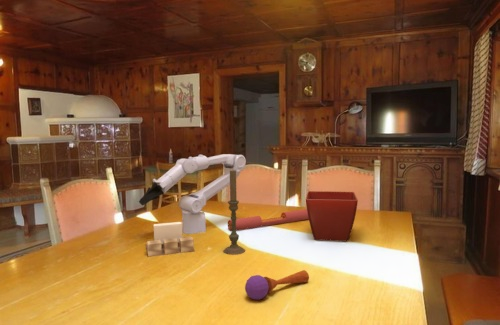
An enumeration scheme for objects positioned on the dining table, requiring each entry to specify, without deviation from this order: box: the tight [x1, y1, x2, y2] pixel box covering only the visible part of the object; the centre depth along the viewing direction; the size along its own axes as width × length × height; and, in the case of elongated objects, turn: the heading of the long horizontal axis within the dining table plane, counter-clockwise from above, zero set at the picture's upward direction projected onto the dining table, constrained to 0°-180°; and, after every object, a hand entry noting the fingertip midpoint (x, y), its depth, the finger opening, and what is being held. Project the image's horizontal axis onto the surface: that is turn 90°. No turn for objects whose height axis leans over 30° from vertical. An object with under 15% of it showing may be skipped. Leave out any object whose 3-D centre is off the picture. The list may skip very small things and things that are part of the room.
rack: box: [145, 239, 195, 258], centre depth 131 cm, size 16×14×2 cm
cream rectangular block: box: [153, 221, 184, 244], centre depth 133 cm, size 10×3×8 cm, turn 109°
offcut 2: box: [179, 236, 195, 253], centre depth 128 cm, size 4×4×4 cm
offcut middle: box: [163, 238, 179, 255], centre depth 127 cm, size 4×4×4 cm
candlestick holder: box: [222, 170, 246, 256], centre depth 125 cm, size 9×9×30 cm
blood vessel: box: [227, 208, 309, 232], centre depth 165 cm, size 42×5×5 cm, turn 118°
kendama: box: [244, 269, 310, 301], centre depth 97 cm, size 6×6×20 cm
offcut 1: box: [146, 239, 163, 257], centre depth 125 cm, size 4×4×4 cm
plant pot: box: [305, 190, 359, 242], centre depth 145 cm, size 19×19×17 cm
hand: (142, 202), depth 137 cm, fingers open, 7 cm apart
